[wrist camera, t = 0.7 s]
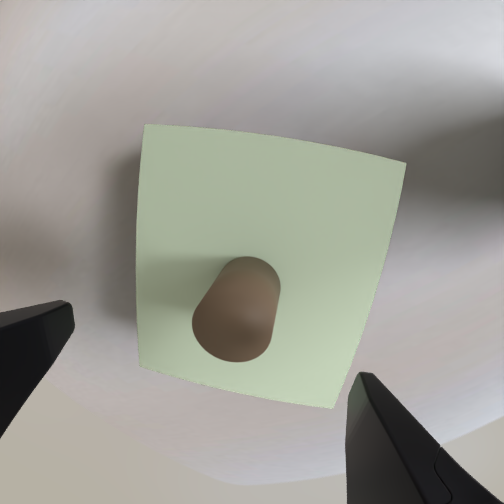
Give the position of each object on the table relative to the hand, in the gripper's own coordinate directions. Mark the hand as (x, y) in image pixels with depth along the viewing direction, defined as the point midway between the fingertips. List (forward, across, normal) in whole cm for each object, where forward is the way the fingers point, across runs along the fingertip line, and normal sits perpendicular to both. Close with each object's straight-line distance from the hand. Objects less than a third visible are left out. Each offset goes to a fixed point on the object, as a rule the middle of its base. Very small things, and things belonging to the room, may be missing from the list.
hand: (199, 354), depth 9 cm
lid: (+8, 0, +1) cm, 8 cm away
